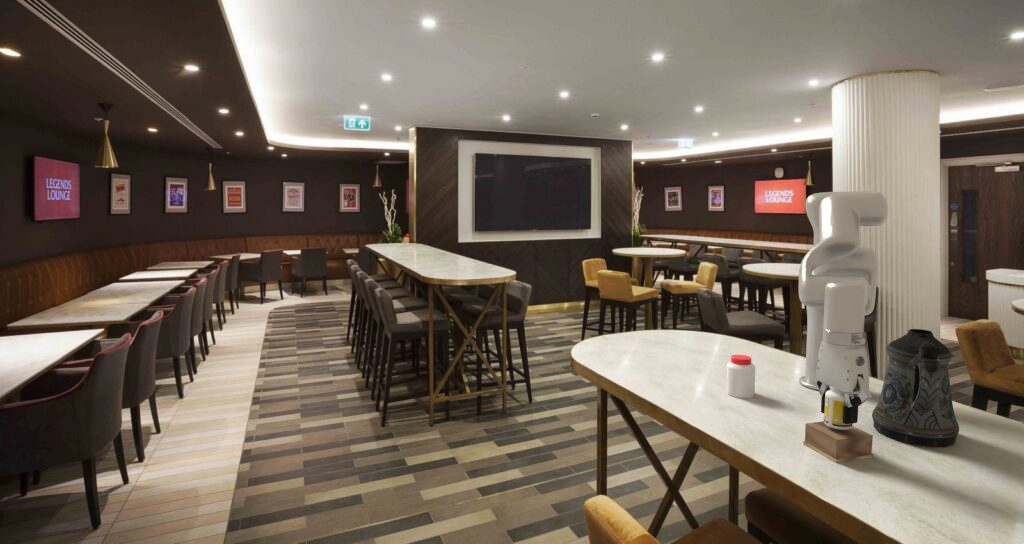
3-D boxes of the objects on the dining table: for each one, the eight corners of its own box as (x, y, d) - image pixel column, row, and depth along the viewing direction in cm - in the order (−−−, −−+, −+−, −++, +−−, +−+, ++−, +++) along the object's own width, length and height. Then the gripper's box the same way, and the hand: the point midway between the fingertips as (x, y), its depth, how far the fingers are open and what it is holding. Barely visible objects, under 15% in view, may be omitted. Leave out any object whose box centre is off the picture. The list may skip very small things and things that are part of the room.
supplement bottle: (858, 428, 117) (860, 384, 116) (840, 432, 115) (843, 388, 114) (835, 419, 122) (837, 377, 121) (818, 423, 120) (820, 381, 119)
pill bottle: (737, 399, 152) (738, 361, 150) (720, 390, 159) (721, 354, 158) (760, 396, 154) (761, 359, 152) (742, 388, 161) (743, 352, 160)
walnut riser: (838, 439, 124) (839, 419, 124) (873, 457, 115) (874, 435, 115) (803, 444, 123) (804, 423, 122) (835, 462, 113) (836, 440, 113)
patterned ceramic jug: (919, 418, 135) (926, 322, 133) (990, 453, 116) (999, 340, 113) (855, 420, 135) (861, 324, 132) (916, 456, 116) (924, 343, 113)
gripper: (892, 346, 108) (887, 431, 111) (827, 328, 125) (823, 402, 127) (861, 349, 107) (856, 435, 109) (799, 330, 124) (796, 405, 126)
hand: (838, 416), depth 118 cm, fingers closed on supplement bottle, 5 cm apart
